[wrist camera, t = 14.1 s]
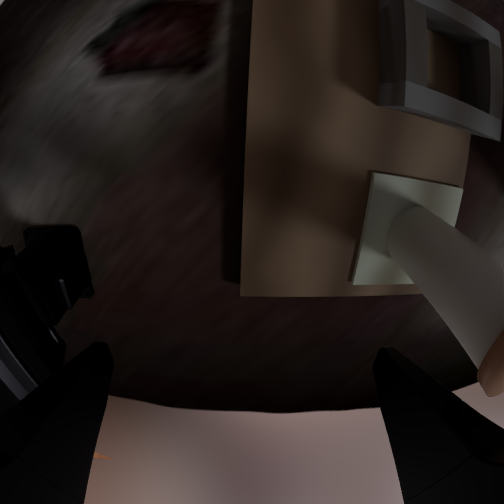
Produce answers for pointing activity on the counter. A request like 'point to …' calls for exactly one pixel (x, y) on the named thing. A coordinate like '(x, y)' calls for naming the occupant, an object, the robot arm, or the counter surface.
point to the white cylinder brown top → (455, 286)
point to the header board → (357, 135)
